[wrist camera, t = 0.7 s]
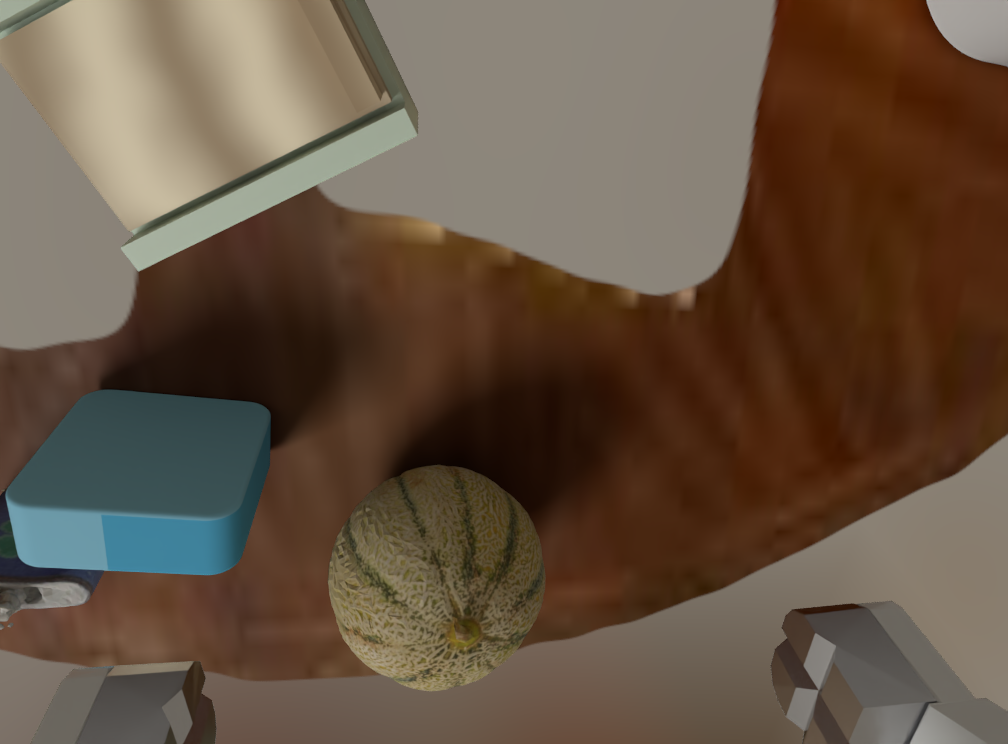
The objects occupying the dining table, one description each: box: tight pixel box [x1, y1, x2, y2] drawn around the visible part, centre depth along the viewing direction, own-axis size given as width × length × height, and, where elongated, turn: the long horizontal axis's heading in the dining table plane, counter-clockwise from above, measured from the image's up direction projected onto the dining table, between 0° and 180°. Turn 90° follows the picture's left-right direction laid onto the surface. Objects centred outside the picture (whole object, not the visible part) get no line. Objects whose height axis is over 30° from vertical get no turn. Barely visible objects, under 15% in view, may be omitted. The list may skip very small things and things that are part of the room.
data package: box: [6, 389, 271, 575], centre depth 43 cm, size 12×4×12 cm, turn 80°
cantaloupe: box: [328, 465, 545, 691], centre depth 48 cm, size 15×15×15 cm
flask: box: [0, 488, 105, 629], centre depth 46 cm, size 9×3×11 cm, turn 80°
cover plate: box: [0, 0, 392, 232], centre depth 32 cm, size 15×9×4 cm, turn 114°
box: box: [0, 0, 418, 271], centre depth 34 cm, size 16×13×7 cm
